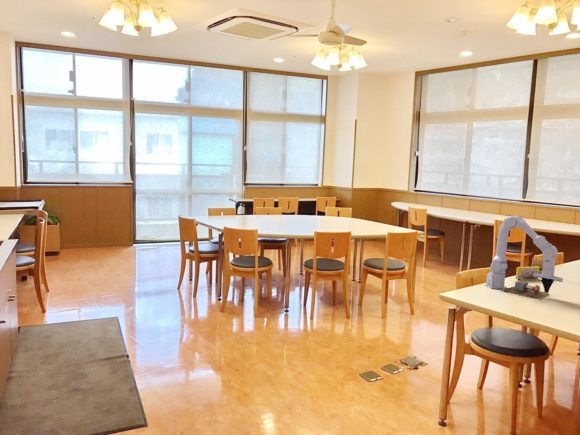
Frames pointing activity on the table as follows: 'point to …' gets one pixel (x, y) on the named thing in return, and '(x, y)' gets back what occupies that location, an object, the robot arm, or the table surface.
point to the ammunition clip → (538, 264)
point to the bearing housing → (520, 286)
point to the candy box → (526, 272)
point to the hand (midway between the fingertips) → (546, 292)
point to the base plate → (527, 293)
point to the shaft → (533, 288)
